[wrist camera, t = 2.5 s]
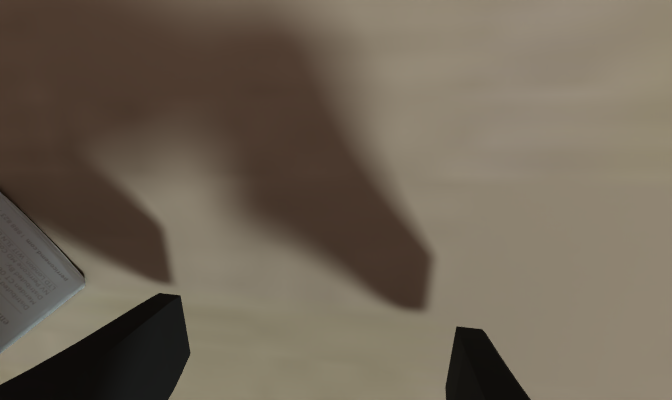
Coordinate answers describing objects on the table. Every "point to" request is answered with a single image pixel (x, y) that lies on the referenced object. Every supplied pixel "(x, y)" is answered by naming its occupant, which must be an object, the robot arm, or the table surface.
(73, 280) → the skincare box
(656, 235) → the table surface
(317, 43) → the table surface
